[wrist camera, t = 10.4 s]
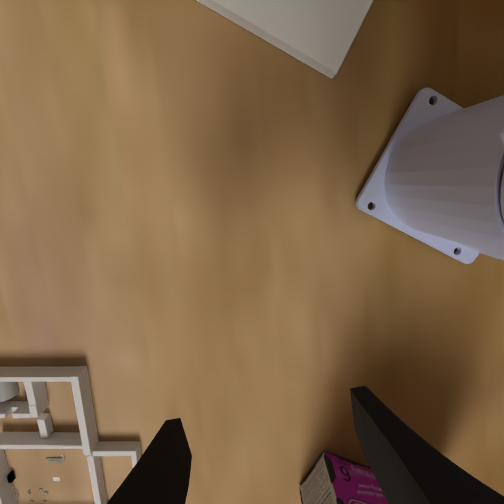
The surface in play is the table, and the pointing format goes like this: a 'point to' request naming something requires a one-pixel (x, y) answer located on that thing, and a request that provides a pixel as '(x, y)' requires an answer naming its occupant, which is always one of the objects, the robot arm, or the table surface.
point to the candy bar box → (340, 483)
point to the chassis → (300, 26)
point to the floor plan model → (5, 387)
